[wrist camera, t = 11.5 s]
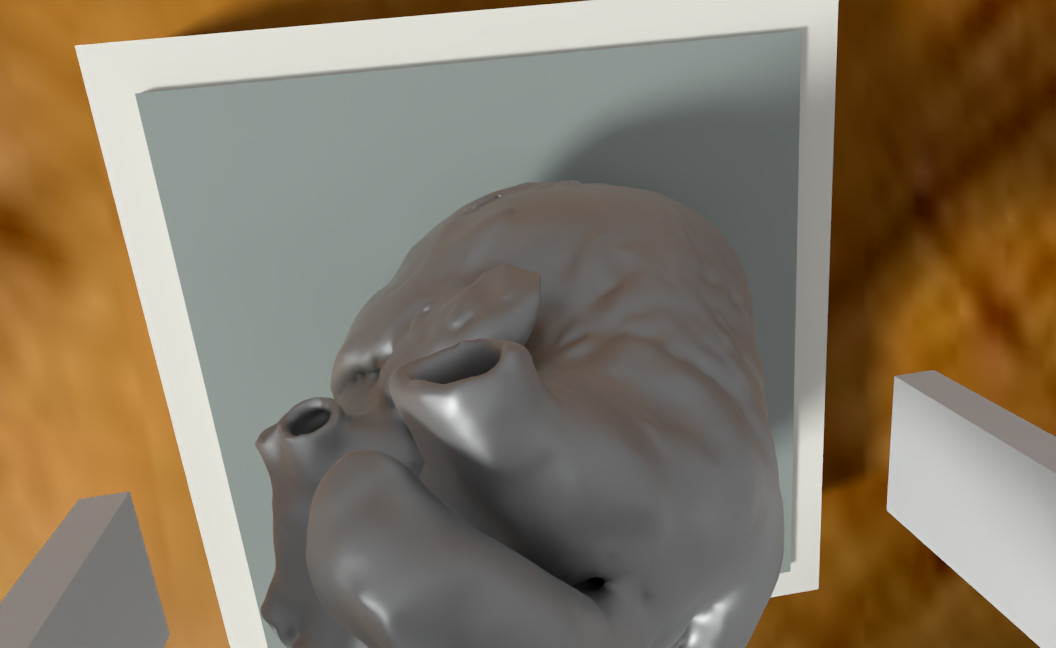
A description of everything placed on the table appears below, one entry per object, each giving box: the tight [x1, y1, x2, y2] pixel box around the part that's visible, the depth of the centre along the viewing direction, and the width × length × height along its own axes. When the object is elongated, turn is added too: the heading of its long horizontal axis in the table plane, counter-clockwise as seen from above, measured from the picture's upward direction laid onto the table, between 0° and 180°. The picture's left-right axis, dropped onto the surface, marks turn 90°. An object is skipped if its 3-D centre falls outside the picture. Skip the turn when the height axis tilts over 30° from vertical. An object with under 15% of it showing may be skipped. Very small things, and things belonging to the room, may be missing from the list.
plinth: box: [75, 0, 839, 648], centre depth 21 cm, size 16×16×4 cm
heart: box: [255, 180, 785, 648], centre depth 14 cm, size 10×10×12 cm
